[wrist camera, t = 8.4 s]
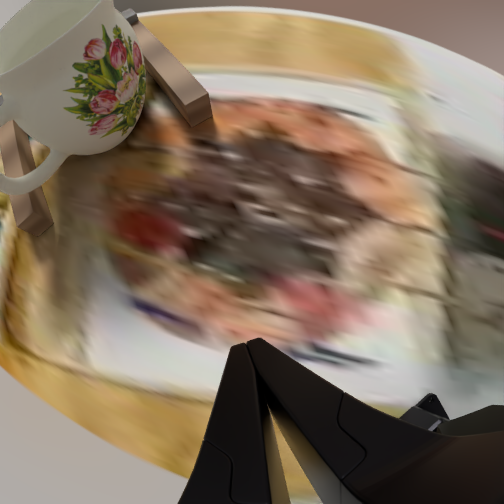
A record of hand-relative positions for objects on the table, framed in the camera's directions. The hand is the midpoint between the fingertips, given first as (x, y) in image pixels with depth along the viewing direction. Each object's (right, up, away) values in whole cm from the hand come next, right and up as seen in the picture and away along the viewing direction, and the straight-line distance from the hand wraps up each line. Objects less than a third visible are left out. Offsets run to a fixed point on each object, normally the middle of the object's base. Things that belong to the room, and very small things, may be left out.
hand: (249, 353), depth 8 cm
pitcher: (-14, +13, +16) cm, 25 cm away
